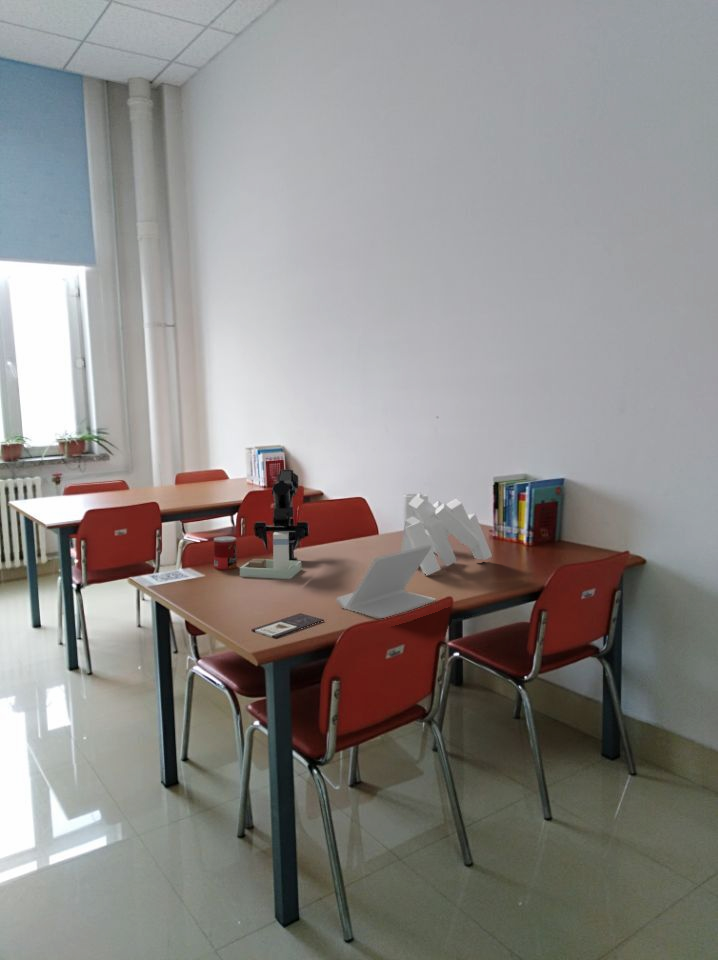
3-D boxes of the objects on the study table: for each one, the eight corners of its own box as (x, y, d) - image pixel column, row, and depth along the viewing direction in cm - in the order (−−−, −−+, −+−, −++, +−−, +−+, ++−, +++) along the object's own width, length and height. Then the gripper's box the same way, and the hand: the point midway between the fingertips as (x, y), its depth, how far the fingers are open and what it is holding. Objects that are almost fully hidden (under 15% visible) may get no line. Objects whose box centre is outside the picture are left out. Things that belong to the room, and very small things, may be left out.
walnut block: (253, 570, 249) (253, 558, 248) (265, 570, 248) (265, 559, 247) (248, 573, 244) (248, 562, 243) (261, 574, 243) (261, 562, 243)
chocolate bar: (323, 619, 193) (275, 636, 180) (324, 623, 193) (275, 640, 180) (300, 613, 199) (251, 629, 185) (300, 616, 199) (251, 632, 185)
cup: (399, 545, 292) (399, 493, 290) (423, 544, 295) (424, 493, 292) (407, 551, 282) (407, 497, 280) (431, 549, 285) (432, 496, 282)
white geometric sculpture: (449, 567, 278) (407, 488, 275) (513, 547, 259) (468, 463, 256) (405, 612, 252) (358, 526, 249) (472, 594, 233) (423, 501, 230)
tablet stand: (436, 601, 213) (437, 545, 212) (382, 620, 195) (382, 559, 193) (390, 590, 226) (390, 537, 224) (335, 607, 207) (335, 550, 205)
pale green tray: (253, 568, 253) (253, 558, 253) (301, 570, 250) (301, 561, 249) (239, 577, 240) (239, 567, 240) (290, 580, 237) (289, 570, 236)
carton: (274, 571, 247) (274, 531, 245) (289, 571, 247) (288, 531, 245) (273, 575, 242) (272, 534, 240) (288, 575, 242) (288, 534, 240)
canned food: (232, 571, 249) (231, 540, 247) (210, 570, 250) (209, 539, 249) (240, 566, 256) (239, 536, 255) (219, 565, 258) (218, 535, 256)
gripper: (253, 498, 245) (250, 536, 235) (308, 498, 245) (307, 536, 236) (256, 517, 254) (253, 554, 244) (309, 517, 254) (308, 554, 245)
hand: (280, 549), depth 242 cm, fingers open, 9 cm apart
